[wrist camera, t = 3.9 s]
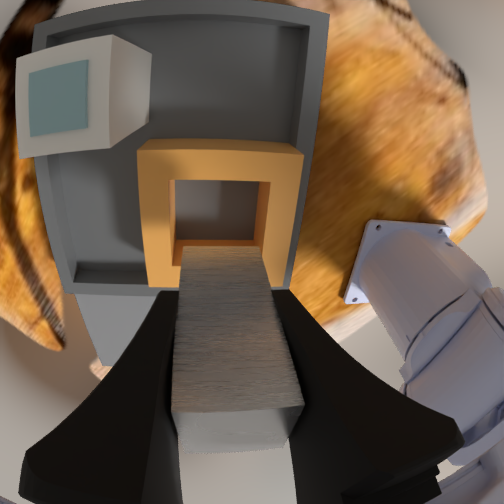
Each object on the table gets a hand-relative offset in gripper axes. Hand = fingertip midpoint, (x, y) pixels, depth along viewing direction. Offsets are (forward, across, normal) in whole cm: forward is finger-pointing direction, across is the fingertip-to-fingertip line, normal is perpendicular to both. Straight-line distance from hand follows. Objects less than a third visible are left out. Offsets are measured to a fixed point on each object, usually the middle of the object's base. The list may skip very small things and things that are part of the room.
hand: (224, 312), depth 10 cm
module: (+9, +6, -7) cm, 13 cm away
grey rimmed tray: (+10, +3, -3) cm, 11 cm away
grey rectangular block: (+3, 0, 0) cm, 3 cm away
